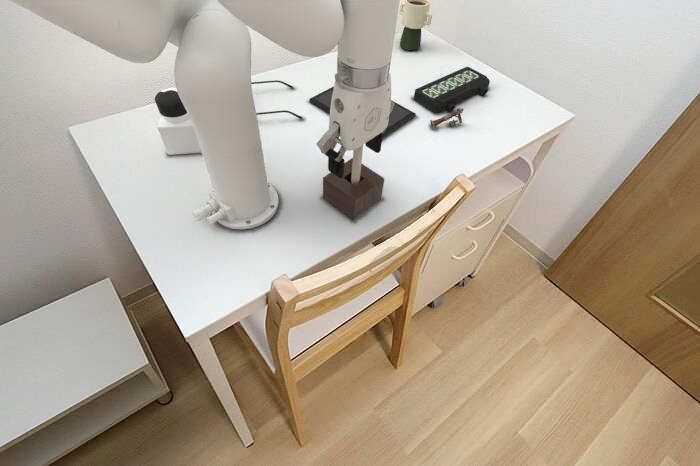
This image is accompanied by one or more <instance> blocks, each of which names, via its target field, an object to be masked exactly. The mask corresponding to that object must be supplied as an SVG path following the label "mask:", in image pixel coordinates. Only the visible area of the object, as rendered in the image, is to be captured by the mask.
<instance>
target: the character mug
mask: <svg viewBox="0 0 700 466" xmlns="http://www.w3.org/2000/svg"><path fill="white" fill-rule="evenodd" d="M430 5H431V1H430V0H404V1H400V3H399V10H398V13H399V15H402V17H401V24H402V25H403V26H404V27H403V30H402V32H401V37H400V40H399V46H400V47H401V48H402V49H404V50H408V51H414V50H417V49H420V48H421V43H422V29H423V28H424V27H425V26H428V27H429V26H430V25H431V23H432V19H433V13H431V12H430V8H431V7H430Z"/></svg>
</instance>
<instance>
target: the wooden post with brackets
mask: <svg viewBox="0 0 700 466" xmlns="http://www.w3.org/2000/svg"><path fill="white" fill-rule="evenodd" d="M464 110H465V108H463V107H458V108H456V109H454V110H453V111H452V112H448V113H447V114H445V115H442V117H439V118H437V119H434V120H432V119H430V120H429V122H430V125H431V127H432V129H433V130H436V127H437V126H439V125H441V124H443V123H444V122H447V121H449V120H451V119H452V120H451V121H449V122H448V123H447V126H448V127H452V126H456V125H457V124H456V123H458V122H459V124H462V123H463V118H462V114H463V111H464ZM454 117H455V118H457V119H453V118H454Z"/></svg>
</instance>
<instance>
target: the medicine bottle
mask: <svg viewBox="0 0 700 466" xmlns="http://www.w3.org/2000/svg"><path fill="white" fill-rule="evenodd" d="M154 102H155V105H156V107H157V110H158V112H159V119H158V122H157V127H156V128H157V131H158V133H159V135H160V138H161V140H162V142H163V145H164V148H165V150H166V152H167V154H168V155H169V156H171V155H188V154H202V152H201V149H200V146H199V143H198V140H197V137H196V134H195V131H194V128H193V125H192V122H191V120H190V117H189V115H188V113H187V111H186V109H185V107H184V105H183V103H182V101H181V99H180V97H179V95H178V92H177V89H176V87H169V88H165V89H162V90H160V91H158V92H157V94H156V95H155V97H154Z"/></svg>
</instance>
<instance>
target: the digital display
mask: <svg viewBox="0 0 700 466" xmlns="http://www.w3.org/2000/svg"><path fill="white" fill-rule="evenodd" d="M490 82H491V81H490V78H489V77H488V76H487V75H486V74H483V73H481V72H479V71H477V70H476V69H474V68H472V67H470V66H465V67H463V68H460V69H458V70H456V71H454V72H451V73H449V74H447V75H444V76H441V77H440V78H438V79H435V80H433V81H431V82H429V83H426V84H424V85H422V86H420V87H417V88H415V89H414V94H413V101H415V102H416V103H418V104H419V105H421V106H423V107H425V108H426V109H428V110H429V111H431V112H433V113H434V114H439V113H441V112H444V111H446V112H447V113H452V112H454V111H455V110H456V109H455V108H456V105H457V104H459V103H461V102H463V101H466V100H468V99H469V98H472V97H474V96H475V95H477V94H478V95H480V96H482V97H484V96H486V95H487V93H488V91H489V89H488V88H489V86H490Z"/></svg>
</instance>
